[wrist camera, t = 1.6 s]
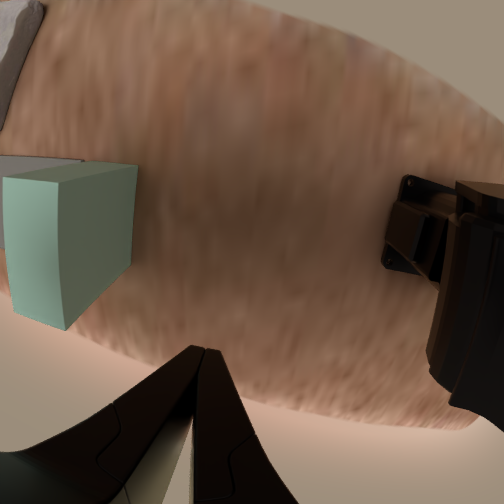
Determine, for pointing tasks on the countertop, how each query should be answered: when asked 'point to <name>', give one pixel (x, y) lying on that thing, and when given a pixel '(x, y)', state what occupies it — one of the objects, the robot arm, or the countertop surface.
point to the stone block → (15, 43)
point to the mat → (21, 164)
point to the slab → (67, 236)
